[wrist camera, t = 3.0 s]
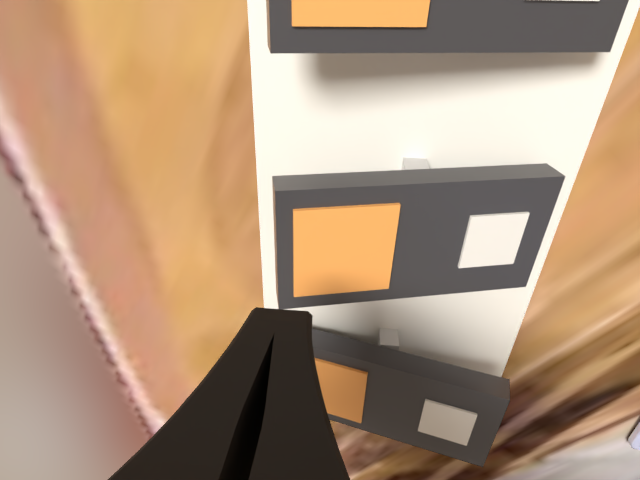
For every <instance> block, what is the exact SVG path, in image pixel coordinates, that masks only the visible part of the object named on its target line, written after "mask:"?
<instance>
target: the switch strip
mask: <svg viewBox="0 0 640 480" xmlns="http://www.w3.org/2000/svg"><path fill="white" fill-rule="evenodd" d="M247 3H248V21H249V40H250V58H251V76H252V94H253V113H254V131H255V149H256V167H257V186H258V204H259V222H260V240H261V259H262V277H263V295H264V308H270V309H278V301H277V294H276V274H275V245H274V216H273V187H272V176H282V175H304V174H325V173H347V172H369V171H391V170H412V169H434V168H456V167H478V166H499V165H521V164H543V163H547V164H548V165H550V166H551V167H553V168H554V169H556V170H557V171H559V172H560V173H562V174H563V175H565V176H566V177H565V179H564V182H563V185H562V188H561V190H560V193H559V196H558V199H557V202H556V204H555V207H554V210H553V213H552V216H551V218H550V221H549V224H548V227H547V229H546V232H545V235H544V238H543V241H542V243H541V246H540V249H539V252H538V255H537V257H536V260H535V263H534V266H533V268H532V271H531V274H530V277H529V280H528V282H527V285H526V287H519V288H509V289H498V290H487V291H476V292H465V293H454V294H444V295H433V296H422V297H411V298H400V299H389V300H379V301H368V302H357V303H346V304H335V305H324V306H314V307H303V308H292V309H284V310H299V311H308V312H309V313H310V314H312V315H313V317H312V328H313V329H316V330H320V331H324V332H328V333H332V334H336V335H340V336H343V337H347V338H351V339H355V340H359V341H363V342H367V343H370V344H374V345H378V346H382V347H386V348H390V349H394V350H398V351H401V352H405V353H409V354H413V355H417V356H421V357H425V358H428V359H432V360H436V361H440V362H444V363H448V364H452V365H455V366H459V367H463V368H467V369H471V370H475V371H479V372H483V373H486V374H490V375H494V376H498V377H501V376H502V374H503V371H504V368H505V366H506V363H507V360H508V358H509V355H510V352H511V350H512V347H513V344H514V342H515V339H516V336H517V334H518V331H519V328H520V326H521V323H522V320H523V318H524V315H525V312H526V310H527V307H528V304H529V302H530V299H531V296H532V293H533V291H534V288H535V285H536V283H537V280H538V277H539V275H540V272H541V269H542V267H543V264H544V261H545V259H546V256H547V253H548V251H549V248H550V245H551V243H552V240H553V237H554V235H555V232H556V229H557V227H558V224H559V221H560V219H561V216H562V213H563V211H564V208H565V205H566V202H567V200H568V197H569V194H570V192H571V189H572V186H573V184H574V181H575V178H576V176H577V173H578V170H579V168H580V165H581V162H582V160H583V157H584V154H585V152H586V149H587V146H588V144H589V141H590V138H591V136H592V133H593V130H594V128H595V125H596V122H597V119H598V117H599V114H600V111H601V109H602V106H603V103H604V101H605V98H606V95H607V93H608V90H609V87H610V85H611V82H612V79H613V77H614V74H615V71H616V69H617V66H618V63H619V61H620V58H621V55H622V53H623V50H624V47H625V45H626V42H627V39H628V36H629V34H630V31H631V28H632V26H633V23H634V20H635V18H636V15H637V12H638V10H639V7H640V0H629V1H628V4H627V7H626V10H625V12H624V15H623V18H622V21H621V23H620V26H619V29H618V32H617V35H616V37H615V40H614V43H613V46H612V48H611V51H610V52H543V53H278V54H271V53H270V51H269V48H268V42H267V13H266V0H247Z"/></svg>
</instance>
